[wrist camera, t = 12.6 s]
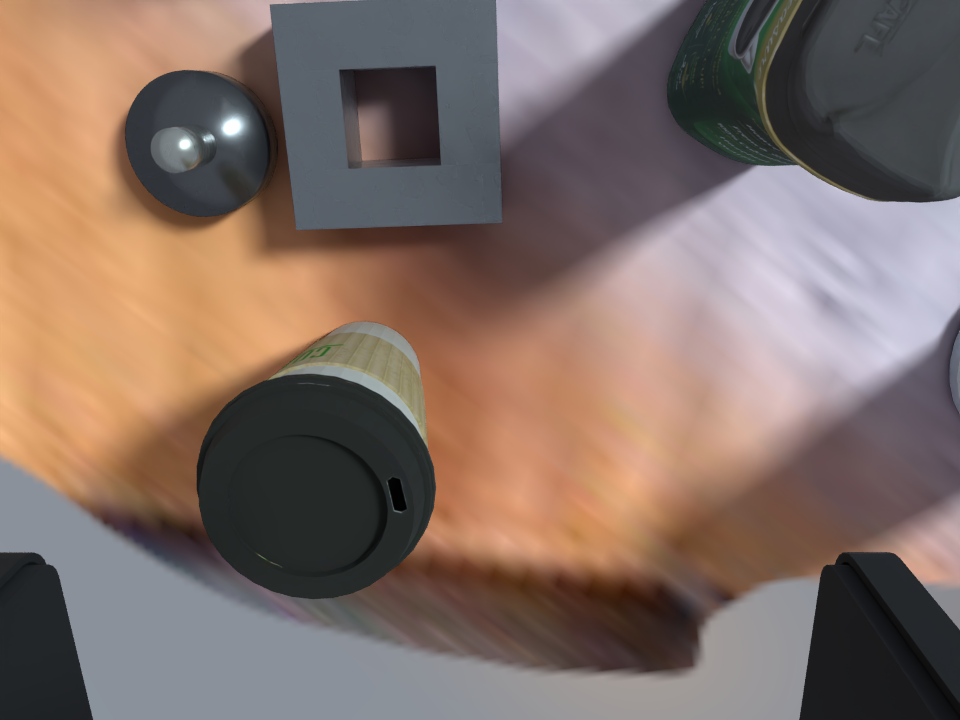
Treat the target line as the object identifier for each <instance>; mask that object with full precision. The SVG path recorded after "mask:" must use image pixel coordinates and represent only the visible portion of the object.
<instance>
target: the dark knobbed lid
mask: <svg viewBox="0 0 960 720" xmlns="http://www.w3.org/2000/svg"><path fill="white" fill-rule="evenodd" d="M125 140H126V148H127V152H128V156H129V160H130V162H131V165H132V167H133V169H134V171H135V173H136V175H137V177H138V178H139V180H140V181H141V183H142V184H143V185H144V186H145V188H146V189H147V190H148V191H149V192H150V193H151V194H152V195H153V196H154V197H155V198H156V199H158V200H159V201H160V202H162V203H163V204H165V205H166V206H168V207H170V208H172V209H174V210H176V211H178V212H181V213H184V214H188V215H192V216H200V217H209V216H217V215H221V214H225V213H228V212H230V211H233V210H235V209H237V208H239V207H241V206H243V205H245V204H247V203H248V202H250V201H252V200H253V199H254V198H256V197H257V196H258V195H259V194H260V193H261V192H262V191H263V190H264V188H265V187H266V186H267V184H268V183H269V181H270V179H271V177H272V175H273V172H274V169H275V166H276V161H277V152H278V147H277V137H276V131H275V128H274V125H273V122H272V120H271V117H270V115H269V113H268V111H267V110H266V108H265V106H264V105H263V103H262V102H261V101H260V100H259V98H258V97H257V96H256V95H255V94H254V93H253V92H252V91H251V90H250V89H249V88H247V87H246V86H245V85H244V84H242V83H240V82H239V81H237V80H236V79H233V78H231V77H229V76H227V75H224V74H221V73H217V72H211V71H193V70H182V71H174V72H171V73H167V74H164V75H162V76H160V77H158V78H156V79H154V80H153V81H151V82H150V83H149V84H148V85H146V86H145V87H144V88H143V89H142V90H141V91H140V93H139V94H138V95H137V97H136V98H135V100H134V102H133V103H132V106H131V108H130V110H129V113H128V117H127V121H126V129H125Z"/></svg>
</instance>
